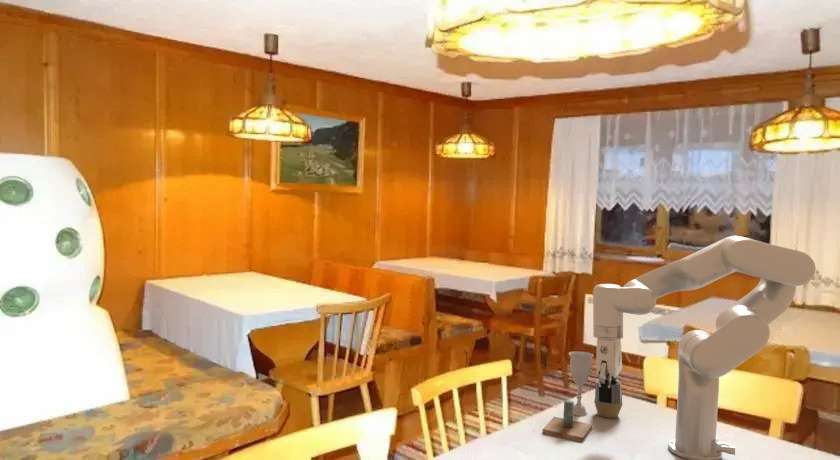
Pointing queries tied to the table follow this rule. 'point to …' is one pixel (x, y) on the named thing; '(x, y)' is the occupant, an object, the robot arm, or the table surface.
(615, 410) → the squeeze bottle
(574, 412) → the chalice
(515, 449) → the table surface
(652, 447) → the table surface
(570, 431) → the post stand
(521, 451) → the table surface
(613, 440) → the table surface
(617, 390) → the ring
